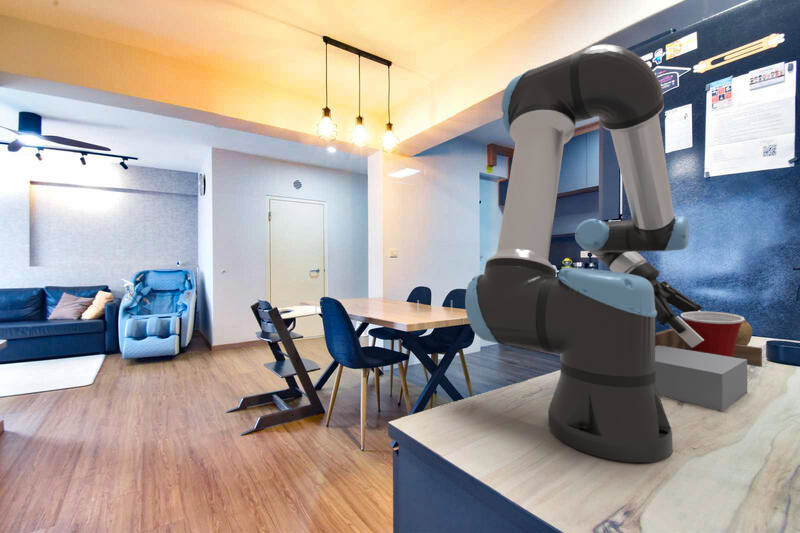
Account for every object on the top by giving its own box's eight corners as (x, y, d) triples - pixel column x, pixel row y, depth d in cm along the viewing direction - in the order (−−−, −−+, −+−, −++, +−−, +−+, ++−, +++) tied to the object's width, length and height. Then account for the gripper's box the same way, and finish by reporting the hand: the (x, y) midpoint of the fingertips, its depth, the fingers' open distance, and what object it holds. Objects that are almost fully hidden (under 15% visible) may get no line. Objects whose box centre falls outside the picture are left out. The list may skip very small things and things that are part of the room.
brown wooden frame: (731, 386, 69) (731, 349, 69) (643, 367, 81) (642, 336, 81) (762, 365, 82) (762, 334, 81) (681, 352, 94) (681, 325, 94)
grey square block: (722, 411, 58) (722, 374, 58) (627, 386, 69) (627, 355, 69) (747, 392, 66) (747, 359, 66) (658, 373, 77) (658, 345, 77)
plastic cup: (676, 368, 80) (676, 315, 80) (684, 358, 88) (684, 309, 88) (743, 379, 73) (743, 320, 72) (746, 367, 80) (746, 313, 80)
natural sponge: (702, 353, 92) (702, 314, 92) (706, 347, 98) (706, 311, 98) (751, 360, 85) (751, 318, 85) (753, 353, 92) (753, 314, 91)
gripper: (644, 279, 102) (712, 341, 90) (599, 283, 88) (672, 358, 76) (666, 260, 98) (740, 322, 86) (622, 262, 84) (704, 337, 71)
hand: (709, 339), depth 81 cm, fingers open, 13 cm apart
